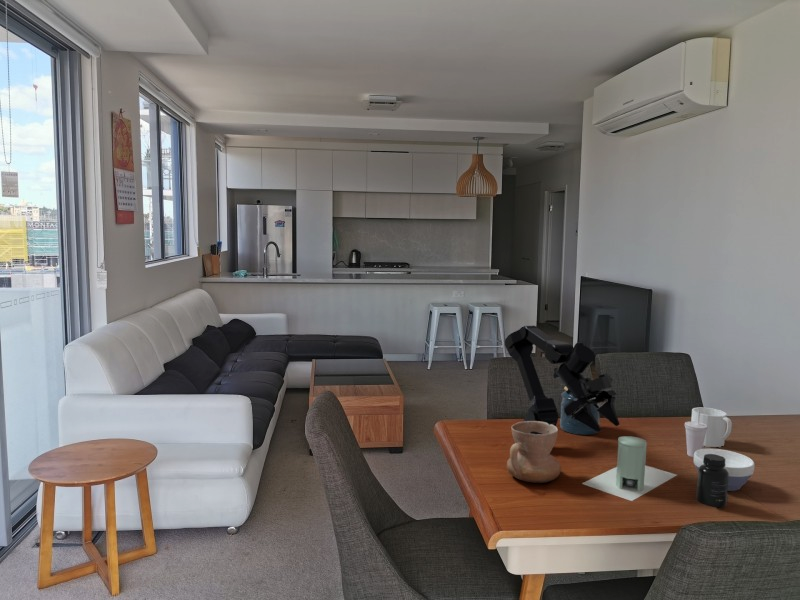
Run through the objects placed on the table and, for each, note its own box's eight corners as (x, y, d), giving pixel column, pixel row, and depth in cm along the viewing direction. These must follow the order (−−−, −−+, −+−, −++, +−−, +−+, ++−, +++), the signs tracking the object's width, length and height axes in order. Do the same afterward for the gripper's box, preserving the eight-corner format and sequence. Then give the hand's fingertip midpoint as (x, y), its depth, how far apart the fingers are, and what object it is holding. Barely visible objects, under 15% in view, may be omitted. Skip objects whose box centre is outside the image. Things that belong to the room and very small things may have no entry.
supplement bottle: (690, 497, 158) (693, 452, 157) (715, 497, 159) (719, 451, 158) (705, 509, 152) (709, 462, 150) (732, 509, 152) (736, 461, 151)
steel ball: (623, 487, 162) (624, 476, 162) (623, 483, 165) (624, 472, 165) (635, 489, 161) (636, 478, 161) (635, 485, 164) (636, 474, 164)
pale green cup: (615, 489, 161) (617, 442, 160) (615, 479, 168) (618, 434, 166) (644, 493, 159) (647, 446, 157) (643, 483, 165) (646, 438, 164)
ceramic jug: (533, 462, 181) (534, 415, 179) (574, 478, 169) (576, 427, 168) (489, 477, 170) (490, 427, 168) (530, 495, 158) (531, 441, 157)
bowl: (751, 501, 157) (753, 472, 156) (688, 487, 165) (690, 460, 164) (753, 482, 169) (756, 455, 168) (695, 470, 177) (697, 444, 176)
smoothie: (708, 460, 185) (711, 414, 184) (685, 458, 187) (688, 412, 185) (702, 452, 192) (705, 408, 190) (680, 450, 193) (683, 406, 191)
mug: (683, 440, 203) (685, 409, 202) (702, 435, 208) (704, 406, 207) (719, 452, 192) (721, 420, 191) (738, 447, 197) (741, 416, 196)
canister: (599, 437, 204) (602, 385, 202) (558, 433, 208) (561, 381, 206) (598, 425, 217) (601, 376, 215) (560, 422, 220) (562, 373, 218)
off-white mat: (631, 502, 155) (631, 500, 155) (581, 485, 165) (581, 483, 165) (677, 476, 172) (677, 474, 172) (629, 462, 182) (629, 460, 182)
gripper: (574, 368, 165) (611, 417, 157) (611, 360, 177) (647, 406, 170) (548, 392, 171) (582, 440, 164) (586, 383, 184) (619, 428, 176)
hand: (609, 428), depth 168 cm, fingers open, 9 cm apart
